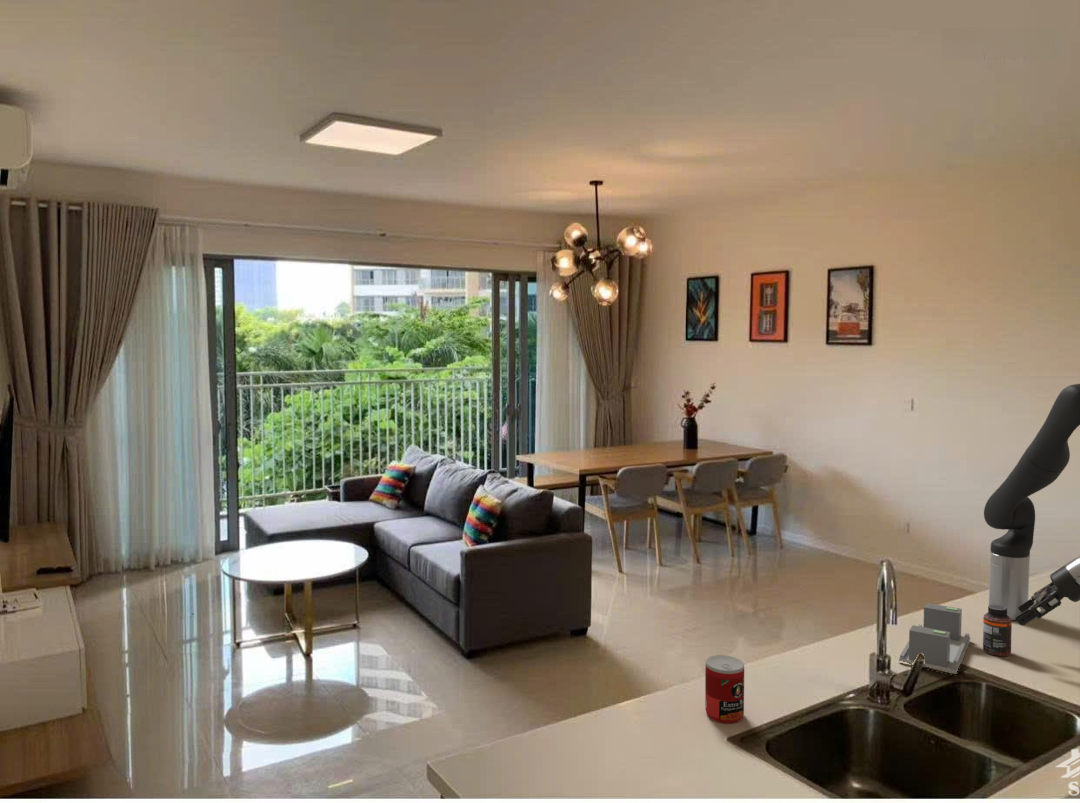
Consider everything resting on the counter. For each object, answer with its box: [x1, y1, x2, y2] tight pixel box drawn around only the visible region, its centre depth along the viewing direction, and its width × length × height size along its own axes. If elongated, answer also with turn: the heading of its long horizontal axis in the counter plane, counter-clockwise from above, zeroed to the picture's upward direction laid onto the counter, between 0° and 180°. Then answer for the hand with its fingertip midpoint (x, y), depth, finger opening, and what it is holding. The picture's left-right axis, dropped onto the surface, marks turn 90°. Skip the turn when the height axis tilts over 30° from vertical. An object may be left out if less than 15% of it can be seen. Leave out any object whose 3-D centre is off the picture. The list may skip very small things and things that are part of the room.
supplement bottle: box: [982, 604, 1013, 657], centre depth 189 cm, size 6×6×11 cm
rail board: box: [898, 602, 971, 674], centre depth 189 cm, size 24×12×8 cm, turn 145°
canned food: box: [704, 654, 745, 724], centre depth 159 cm, size 8×8×11 cm
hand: (1019, 616), depth 186 cm, fingers open, 8 cm apart
